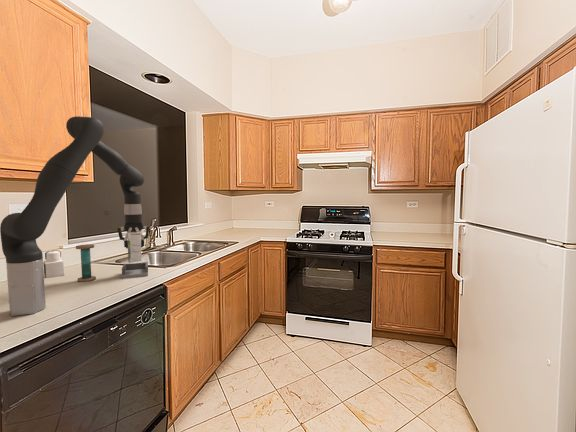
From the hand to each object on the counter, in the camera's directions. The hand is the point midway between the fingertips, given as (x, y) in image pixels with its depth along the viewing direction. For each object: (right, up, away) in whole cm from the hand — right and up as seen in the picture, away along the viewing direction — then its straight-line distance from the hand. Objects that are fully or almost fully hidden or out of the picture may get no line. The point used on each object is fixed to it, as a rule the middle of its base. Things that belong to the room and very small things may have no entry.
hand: (134, 247), depth 144 cm
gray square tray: (0, -13, +1) cm, 13 cm away
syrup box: (0, -7, +1) cm, 7 cm away
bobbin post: (-18, -14, -8) cm, 24 cm away
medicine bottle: (-39, -14, 0) cm, 41 cm away
